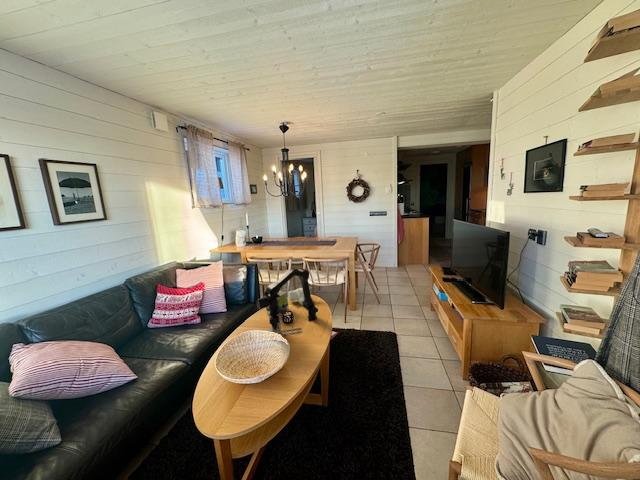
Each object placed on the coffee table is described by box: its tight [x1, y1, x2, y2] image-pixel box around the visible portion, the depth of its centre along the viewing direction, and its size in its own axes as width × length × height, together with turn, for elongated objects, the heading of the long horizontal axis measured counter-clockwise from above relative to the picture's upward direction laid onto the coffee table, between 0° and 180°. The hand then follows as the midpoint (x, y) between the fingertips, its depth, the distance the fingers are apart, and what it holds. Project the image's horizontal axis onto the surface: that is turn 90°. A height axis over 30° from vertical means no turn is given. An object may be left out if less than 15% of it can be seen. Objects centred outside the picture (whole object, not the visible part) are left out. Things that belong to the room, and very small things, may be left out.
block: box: [271, 323, 279, 332], centre depth 170 cm, size 4×4×5 cm
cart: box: [268, 320, 282, 334], centre depth 171 cm, size 6×8×7 cm
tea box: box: [265, 290, 290, 316], centre depth 201 cm, size 15×10×15 cm
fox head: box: [287, 286, 312, 306], centre depth 215 cm, size 13×17×20 cm
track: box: [281, 327, 303, 336], centre depth 173 cm, size 8×21×1 cm, turn 100°
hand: (275, 326), depth 170 cm, fingers open, 9 cm apart
